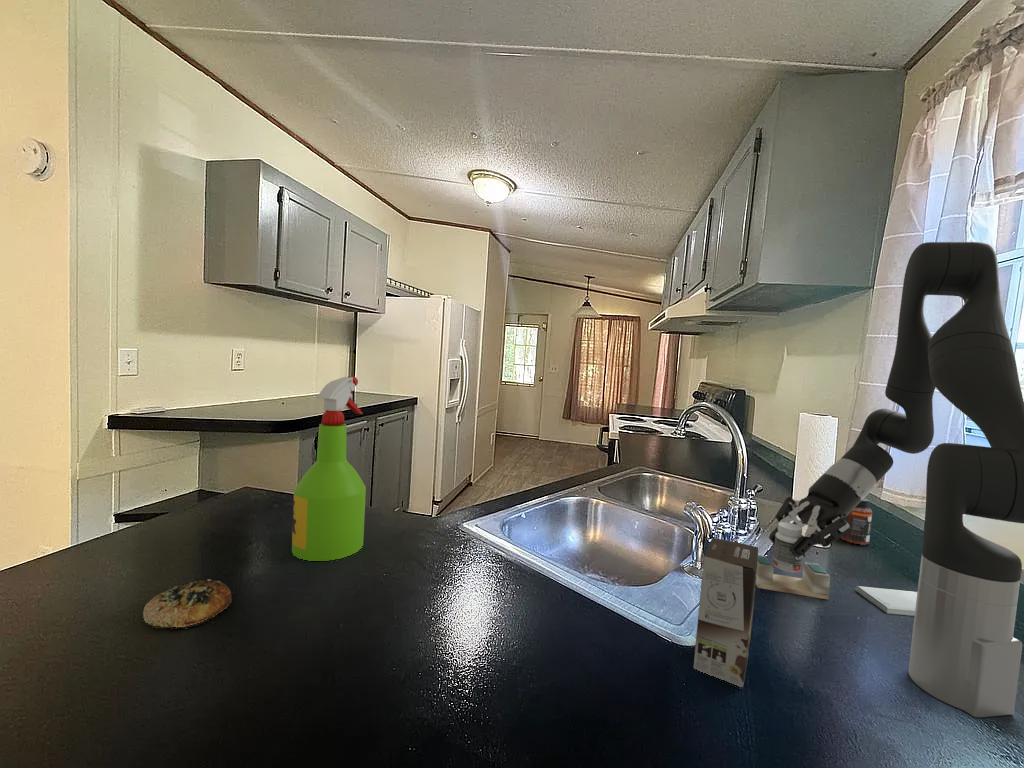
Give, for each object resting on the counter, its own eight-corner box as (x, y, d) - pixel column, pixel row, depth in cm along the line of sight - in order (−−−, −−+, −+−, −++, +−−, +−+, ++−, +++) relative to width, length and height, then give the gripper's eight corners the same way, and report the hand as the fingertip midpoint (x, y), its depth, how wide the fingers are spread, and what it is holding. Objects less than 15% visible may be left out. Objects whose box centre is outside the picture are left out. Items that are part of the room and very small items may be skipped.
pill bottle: (800, 576, 85) (804, 532, 84) (771, 568, 88) (775, 526, 87) (801, 566, 89) (805, 525, 88) (774, 559, 91) (777, 519, 91)
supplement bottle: (875, 547, 112) (880, 502, 112) (851, 545, 112) (855, 501, 112) (857, 537, 118) (861, 495, 118) (834, 536, 118) (838, 494, 118)
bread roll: (236, 586, 75) (235, 559, 74) (226, 633, 65) (225, 603, 64) (154, 600, 70) (151, 571, 69) (129, 652, 61) (126, 620, 60)
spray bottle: (383, 531, 102) (390, 377, 101) (342, 566, 85) (351, 380, 83) (327, 524, 104) (333, 373, 103) (276, 557, 86) (283, 375, 85)
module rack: (815, 584, 89) (817, 562, 89) (828, 599, 84) (831, 576, 83) (749, 573, 92) (751, 552, 92) (757, 587, 87) (759, 564, 86)
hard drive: (887, 607, 80) (961, 614, 79) (855, 584, 88) (922, 590, 87) (886, 616, 80) (960, 623, 79) (854, 593, 88) (921, 598, 88)
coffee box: (744, 691, 58) (756, 569, 57) (691, 670, 61) (701, 554, 61) (750, 654, 66) (760, 546, 65) (703, 637, 69) (712, 534, 68)
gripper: (802, 464, 95) (746, 520, 94) (866, 484, 81) (801, 550, 80) (821, 489, 97) (766, 545, 95) (887, 512, 82) (824, 578, 81)
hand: (783, 547), depth 88 cm, fingers closed on pill bottle, 4 cm apart
